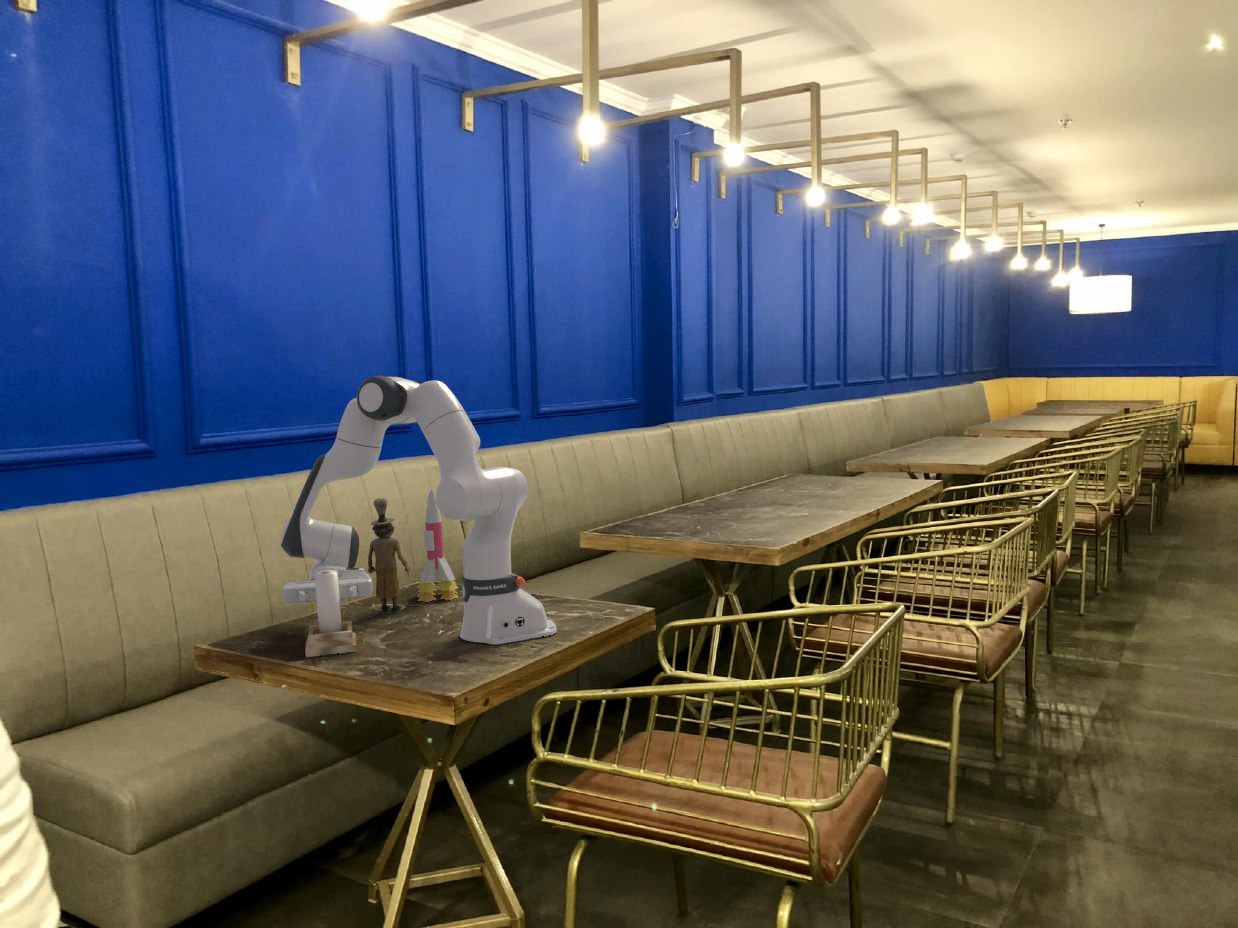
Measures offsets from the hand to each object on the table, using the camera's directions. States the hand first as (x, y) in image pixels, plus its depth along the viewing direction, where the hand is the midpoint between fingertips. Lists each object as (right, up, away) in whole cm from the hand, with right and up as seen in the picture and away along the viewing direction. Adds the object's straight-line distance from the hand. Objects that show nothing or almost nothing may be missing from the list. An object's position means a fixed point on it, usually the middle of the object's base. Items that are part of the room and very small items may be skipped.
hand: (327, 596), depth 225 cm
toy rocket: (+16, -7, +48) cm, 51 cm away
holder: (0, -12, +2) cm, 12 cm away
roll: (0, -10, +2) cm, 11 cm away
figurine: (+7, -8, +34) cm, 36 cm away
